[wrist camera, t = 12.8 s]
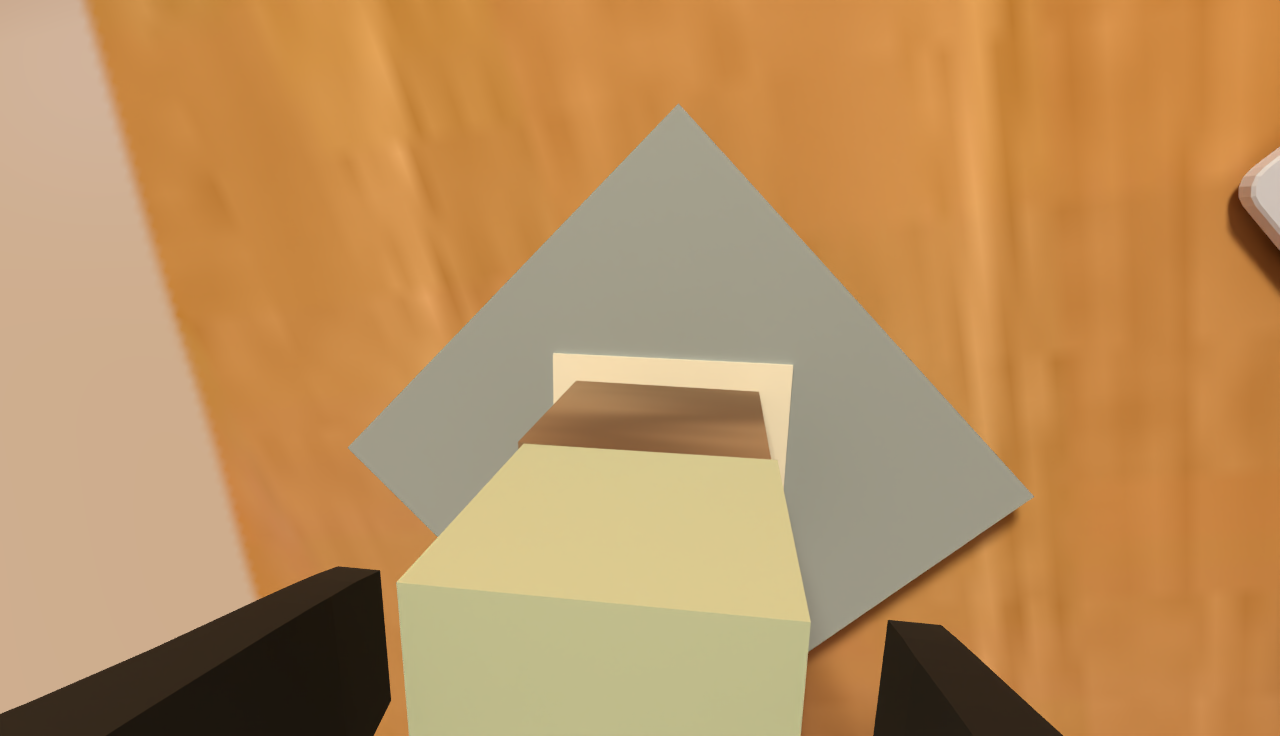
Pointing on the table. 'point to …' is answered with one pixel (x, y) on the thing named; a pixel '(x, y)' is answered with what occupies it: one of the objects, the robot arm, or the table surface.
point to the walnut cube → (655, 420)
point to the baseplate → (708, 374)
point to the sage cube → (610, 602)
